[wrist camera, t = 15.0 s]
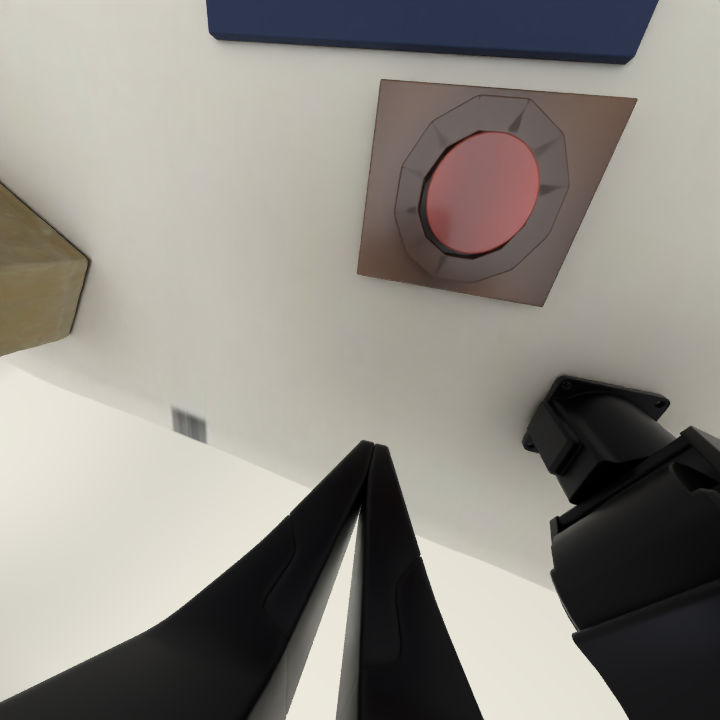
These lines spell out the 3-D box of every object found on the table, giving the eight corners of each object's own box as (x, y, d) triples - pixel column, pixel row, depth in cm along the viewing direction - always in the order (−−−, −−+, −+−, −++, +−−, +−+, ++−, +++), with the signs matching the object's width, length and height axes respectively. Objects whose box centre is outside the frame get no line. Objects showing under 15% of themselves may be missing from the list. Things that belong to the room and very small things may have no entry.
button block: (618, 110, 12) (674, 75, 10) (534, 301, 16) (556, 316, 14) (384, 91, 14) (374, 56, 11) (361, 271, 18) (349, 279, 15)
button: (543, 148, 11) (561, 136, 10) (504, 257, 13) (514, 261, 12) (439, 138, 12) (441, 124, 10) (416, 244, 14) (415, 246, 12)
